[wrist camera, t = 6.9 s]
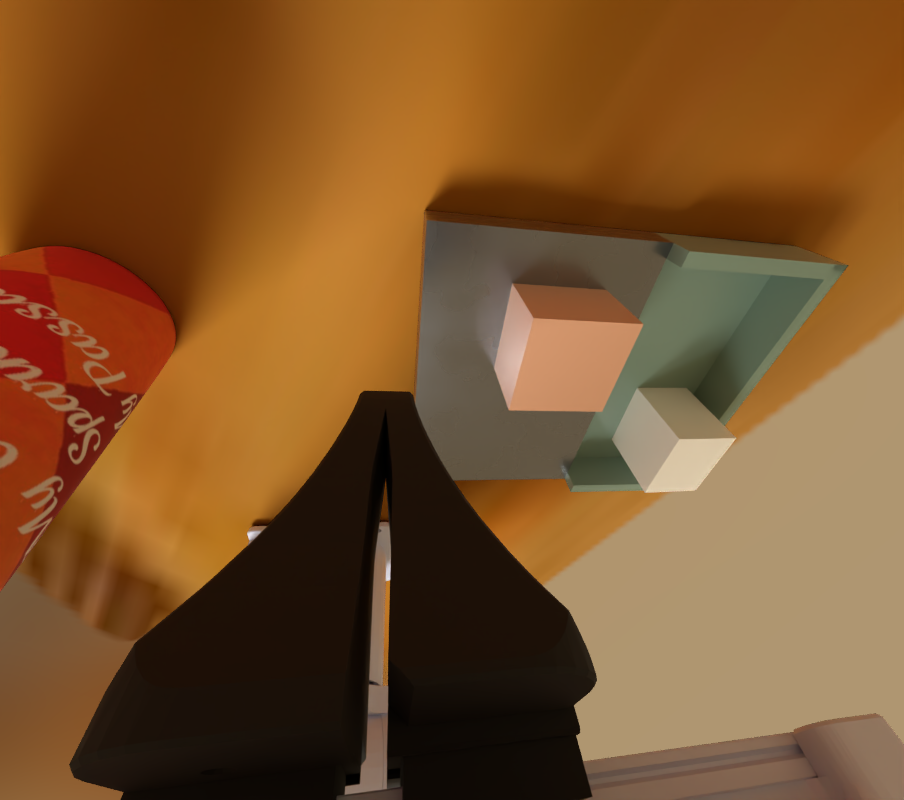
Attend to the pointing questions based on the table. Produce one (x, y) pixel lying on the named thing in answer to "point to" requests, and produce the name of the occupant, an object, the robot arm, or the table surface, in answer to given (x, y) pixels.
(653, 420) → the tile cream
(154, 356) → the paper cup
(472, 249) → the plate
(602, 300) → the terracotta block
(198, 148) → the table surface
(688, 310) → the box
